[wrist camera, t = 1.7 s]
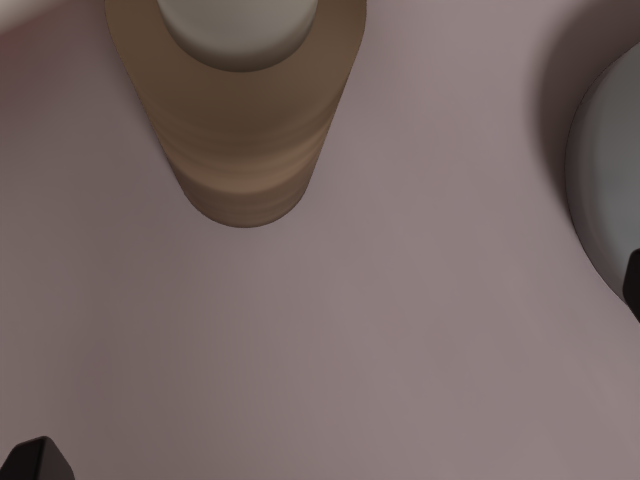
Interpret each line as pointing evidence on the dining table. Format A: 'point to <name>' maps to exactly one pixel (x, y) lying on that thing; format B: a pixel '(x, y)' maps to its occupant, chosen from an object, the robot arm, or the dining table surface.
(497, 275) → the dining table surface
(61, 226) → the dining table surface
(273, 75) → the pepper mill
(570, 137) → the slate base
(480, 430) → the dining table surface
